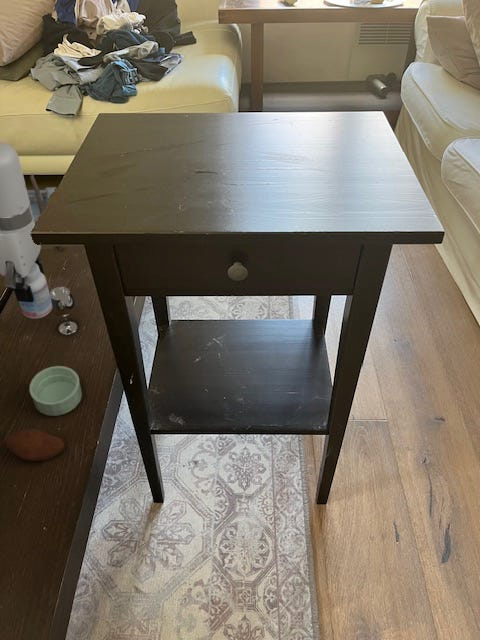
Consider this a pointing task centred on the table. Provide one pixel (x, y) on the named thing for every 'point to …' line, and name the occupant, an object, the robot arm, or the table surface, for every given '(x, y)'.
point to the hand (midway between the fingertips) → (31, 288)
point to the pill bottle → (36, 295)
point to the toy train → (44, 199)
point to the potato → (34, 445)
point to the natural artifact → (38, 197)
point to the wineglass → (63, 308)
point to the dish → (56, 390)
